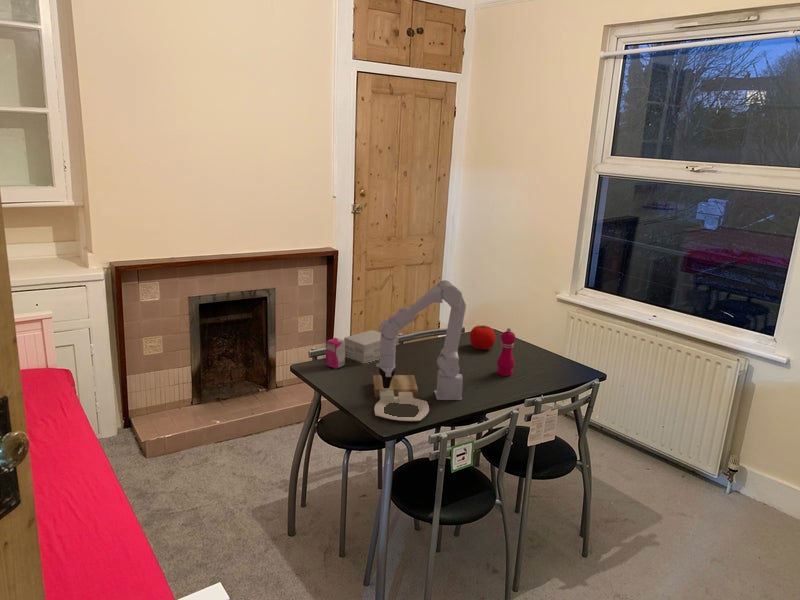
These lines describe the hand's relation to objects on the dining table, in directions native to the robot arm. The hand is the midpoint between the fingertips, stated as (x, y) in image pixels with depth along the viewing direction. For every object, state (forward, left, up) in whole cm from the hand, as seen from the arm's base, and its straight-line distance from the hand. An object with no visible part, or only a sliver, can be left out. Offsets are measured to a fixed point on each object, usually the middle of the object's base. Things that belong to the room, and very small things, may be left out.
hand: (386, 387), depth 220 cm
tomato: (-49, -57, -5) cm, 75 cm away
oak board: (-4, -8, -5) cm, 10 cm away
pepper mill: (-52, -26, -5) cm, 58 cm away
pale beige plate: (-5, +10, -5) cm, 12 cm away
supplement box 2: (+5, -45, -5) cm, 45 cm away
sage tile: (0, +3, -3) cm, 4 cm away
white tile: (-7, +4, -3) cm, 9 cm away
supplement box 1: (+19, -33, -5) cm, 38 cm away
